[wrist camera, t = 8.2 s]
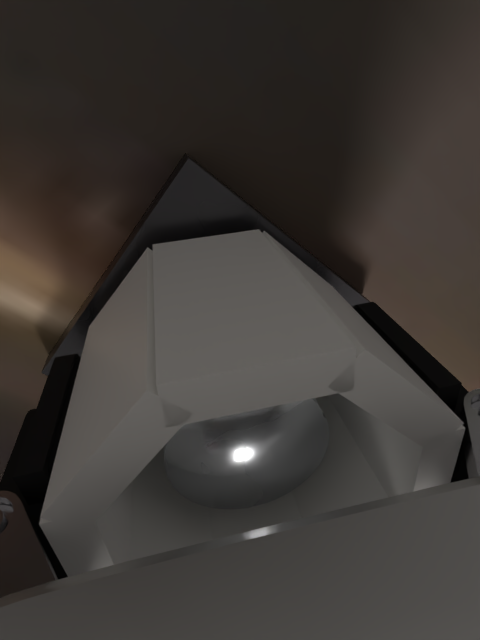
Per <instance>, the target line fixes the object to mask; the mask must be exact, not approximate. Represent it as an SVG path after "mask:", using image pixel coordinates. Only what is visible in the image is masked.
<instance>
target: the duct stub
mask: <svg viewBox="0 0 480 640" xmlns="http://www.w3.org/2000/svg"><path fill="white" fill-rule="evenodd" d="M257 229H259V230H260V231H261V232H262V233H263V231H265V232H266V233H268V234H269V235H270V236H271V237H273V238H274V239H275V240H276V241H277V242H279V243H280V244H281V245H282V246H284V247H285V248H286V249H287V250H289V251H290V252H291V253H292V254H293V255H295V256H296V257H297V258H298V259H300V260H301V261H302V262H303V263H304V264H306V265H307V266H308V267H309V268H311V269H312V270H313V271H314V272H315V273H317V274H318V275H319V276H320V277H322V278H323V279H324V280H325V281H326V282H328V283H329V284H330V285H331V286H333V288H334V289H335V290H336V291H337V292H338V293H339V294H340V295H341V296H342V297H343V298H344V299H345V300H346V301H347V302H348V303H349V304H350V305H351V306H352V307H353V306H354V305H357V304H363V303H369V302H370V301H369V300H368V299H367V298H365V297H364V296H363V295H362V294H361V293H360V292H358V291H357V290H356V289H355V288H353V287H352V286H351V285H350V284H348V283H347V282H346V281H345V280H343V279H342V278H341V277H340V276H338V275H337V274H336V273H335V272H333V271H332V270H331V269H330V268H328V267H327V266H326V265H325V264H323V263H322V262H321V261H320V260H318V259H317V258H316V257H315V256H313V255H312V254H311V253H310V252H308V251H307V250H306V249H305V248H303V247H302V246H301V245H300V244H298V243H297V242H296V241H295V240H293V239H292V238H291V237H290V236H288V235H287V234H286V233H285V232H283V231H282V230H281V229H280V228H278V227H277V226H276V225H275V224H273V223H272V222H271V221H270V220H268V219H267V218H266V217H265V216H263V215H262V214H261V213H260V212H258V211H257V210H256V209H255V208H253V207H252V206H251V205H250V204H248V203H247V202H246V201H245V200H243V199H242V198H241V197H240V196H238V195H237V194H236V193H234V192H233V191H232V190H231V189H229V188H228V187H227V186H226V185H224V184H223V183H222V182H221V181H219V180H218V179H217V178H216V177H214V176H213V175H212V174H211V173H209V172H208V171H207V170H206V169H204V168H203V167H202V166H201V165H199V164H198V163H197V162H196V161H194V160H193V159H192V158H191V157H189V156H188V155H187V154H186V153H185V155H184V156H183V158H182V159H181V161H180V162H179V164H178V165H177V167H176V168H175V170H174V171H173V172H172V174H171V175H170V177H169V178H168V180H167V181H166V183H165V184H164V186H163V187H162V189H161V190H160V192H159V193H158V195H157V196H156V197H155V199H154V200H153V202H152V203H151V205H150V206H149V208H148V209H147V211H146V212H145V214H144V215H143V217H142V218H141V220H140V221H139V222H138V224H137V225H136V227H135V228H134V230H133V231H132V233H131V234H130V236H129V237H128V239H127V240H126V242H125V243H124V245H123V246H122V247H121V249H120V250H119V252H118V253H117V255H116V256H115V258H114V259H113V261H112V262H111V264H110V265H109V267H108V268H107V270H106V271H105V272H104V274H103V275H102V277H101V278H100V280H99V281H98V283H97V284H96V286H95V287H94V289H93V290H92V292H91V293H90V295H89V296H88V297H87V299H86V300H85V302H84V303H83V305H82V306H81V308H80V309H79V311H78V312H77V314H76V315H75V317H74V318H73V320H72V321H71V322H70V324H69V325H68V327H67V328H66V330H65V331H64V333H63V334H62V336H61V337H60V339H59V340H58V342H57V343H56V345H55V346H54V347H53V349H52V350H51V352H50V353H49V355H48V357H47V360H46V362H45V365H44V368H43V370H42V373H43V374H45V375H47V376H48V375H49V372H50V370H51V367H52V364H53V361H54V359H55V357H59V356H65V355H71V354H76V353H77V354H78V355H79V356H80V358H81V356H82V352H83V348H84V344H85V340H86V336H87V333H88V329H89V326H90V325H91V323H92V322H93V321H94V319H95V318H96V316H97V315H98V314H99V312H100V311H101V310H102V308H103V307H104V306H105V304H106V303H107V302H108V300H109V299H110V298H111V296H112V295H113V293H114V292H115V291H116V289H117V288H118V287H119V285H120V284H121V283H122V281H123V280H124V279H125V277H126V276H127V274H128V273H129V272H130V270H131V269H132V268H133V266H134V265H135V264H136V262H137V261H138V260H139V258H140V257H141V256H142V254H143V253H144V251H145V250H146V249H147V247H148V248H149V249H151V250H152V251H153V246H152V244H159V243H166V242H173V241H180V240H187V239H194V238H201V237H208V236H215V235H222V234H229V233H236V232H243V231H250V230H257ZM328 444H329V426H328V422H327V419H326V417H325V415H324V413H323V411H322V409H321V408H320V406H319V404H318V402H317V400H316V399H315V398H312V399H307V400H302V401H297V402H292V403H287V404H282V405H277V406H273V407H268V408H263V409H258V410H253V411H248V412H243V413H238V414H233V415H228V416H223V417H218V418H213V419H208V420H203V421H199V422H194V423H189V424H184V425H183V426H182V427H181V428H180V429H179V430H178V431H177V432H176V433H175V434H174V436H173V437H172V438H171V439H170V440H169V441H168V442H167V443H166V444H165V446H164V464H165V470H166V474H167V477H168V479H169V481H170V483H171V484H172V486H173V487H174V488H175V489H176V491H177V492H178V493H180V494H181V495H182V496H183V497H185V498H186V499H188V500H190V501H192V502H194V503H196V504H199V505H202V506H206V507H210V508H216V509H241V508H249V507H253V506H258V505H261V504H265V503H268V502H270V501H273V500H275V499H277V498H280V497H282V496H284V495H286V494H287V493H289V492H291V491H292V490H294V489H295V488H297V487H298V486H299V485H301V484H302V483H303V482H304V481H305V480H307V479H308V478H309V477H310V476H311V475H312V473H313V472H314V471H315V470H316V469H317V467H318V466H319V465H320V463H321V461H322V459H323V458H324V455H325V453H326V451H327V447H328Z"/></svg>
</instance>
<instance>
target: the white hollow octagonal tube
mask: <svg viewBox="0 0 480 640" xmlns="http://www.w3.org/2000/svg"><path fill="white" fill-rule="evenodd" d="M152 246H153V251H152V250H151V249H149V248H148V247H147V249H146V250H145V251H144V253H143V254H142V256H141V257H140V258H139V260H138V261H137V262H136V264H135V265H134V266H133V268H132V269H131V270H130V272H129V273H128V274H127V276H126V277H125V279H124V280H123V281H122V283H121V284H120V285H119V287H118V288H117V289H116V291H115V292H114V293H113V295H112V296H111V298H110V299H109V300H108V302H107V303H106V304H105V306H104V307H103V308H102V310H101V311H100V312H99V314H98V315H97V316H96V318H95V319H94V321H93V322H92V323H91V325H90V326H89V329H88V333H87V336H86V340H85V344H84V348H83V352H82V356H81V360H80V364H79V368H78V371H77V375H76V379H75V383H74V387H73V391H72V395H71V399H70V403H69V406H68V410H67V414H66V418H65V422H64V426H63V430H62V434H61V438H60V441H59V445H58V449H57V453H56V457H55V461H54V465H53V469H52V473H51V477H50V480H49V484H48V488H47V492H46V496H45V500H44V504H43V508H42V512H41V515H40V522H39V525H40V527H41V529H42V530H43V532H44V534H45V536H46V538H47V539H48V541H49V543H50V545H51V547H52V549H53V550H54V552H55V554H56V556H57V558H58V559H59V561H60V563H61V565H62V567H63V568H64V570H65V572H66V574H67V576H68V577H70V576H74V575H77V574H81V573H85V572H89V571H92V570H96V569H100V568H104V567H108V566H111V565H115V564H119V563H123V562H126V561H131V560H135V559H139V558H143V557H147V556H151V555H155V554H159V553H163V552H167V551H171V550H175V549H179V548H183V547H187V546H191V545H195V544H199V543H203V542H207V541H211V540H215V539H219V538H223V537H227V536H231V535H235V534H239V533H243V532H247V531H251V530H256V529H260V528H264V527H268V526H272V525H276V524H280V523H284V522H288V521H292V520H296V519H301V518H305V517H309V516H313V515H317V514H321V513H325V512H330V511H334V510H338V509H342V508H346V507H350V506H354V505H359V504H363V503H367V502H371V501H375V500H380V499H384V498H388V497H392V496H396V495H401V494H405V493H409V492H413V491H418V490H422V489H426V488H430V487H434V486H439V485H443V484H447V483H450V482H451V479H452V475H453V471H454V468H455V464H456V461H457V457H458V453H459V450H460V446H461V443H462V439H463V436H464V432H465V427H464V426H463V424H464V423H463V422H462V421H461V420H460V419H459V417H458V416H457V415H456V414H455V413H454V412H453V411H452V410H451V409H450V408H449V407H448V406H447V405H446V404H445V403H444V402H443V401H442V400H441V399H440V398H439V397H438V396H437V395H436V394H435V393H434V391H433V390H432V389H431V388H430V387H429V386H428V385H427V384H426V383H425V382H424V381H423V380H422V379H421V378H420V377H419V376H418V375H417V374H416V373H415V372H414V371H413V370H412V369H411V368H410V367H409V365H408V364H407V363H406V362H405V361H404V360H403V359H402V358H401V357H400V356H399V355H398V354H397V353H396V352H395V351H394V350H393V349H392V348H391V347H390V346H389V345H388V344H387V343H386V342H385V341H384V340H383V338H382V337H381V336H380V335H379V334H378V333H377V332H376V331H375V330H374V329H373V328H372V327H371V326H370V325H369V324H368V323H367V322H366V321H365V320H364V319H363V318H362V317H361V316H360V315H359V314H358V312H357V311H356V310H355V309H354V308H353V307H352V306H351V305H350V304H349V303H348V302H347V301H346V300H345V299H344V298H343V297H342V296H341V295H340V294H339V293H338V292H337V291H336V290H335V289H334V288H333V286H331V285H330V284H329V283H328V282H326V281H325V280H324V279H323V278H322V277H320V276H319V275H318V274H317V273H315V272H314V271H313V270H312V269H311V268H309V267H308V266H307V265H306V264H304V263H303V262H302V261H301V260H300V259H298V258H297V257H296V256H295V255H293V254H292V253H291V252H290V251H289V250H287V249H286V248H285V247H284V246H282V245H281V244H280V243H279V242H277V241H276V240H275V239H274V238H273V237H271V236H270V235H269V234H268V233H266V232H265V231H263V233H262V232H261V231H260V230H259V229H257V230H250V231H243V232H236V233H229V234H222V235H215V236H208V237H201V238H194V239H187V240H180V241H173V242H166V243H159V244H152ZM312 398H315V399H316V400H317V402H318V404H319V406H320V408H321V409H322V411H323V413H324V415H325V417H326V419H327V422H328V426H329V444H328V447H327V451H326V453H325V455H324V458H323V459H322V461H321V463H320V465H319V466H318V467H317V469H316V470H315V471H314V472H313V473H312V475H311V476H310V477H309V478H308V479H307V480H305V481H304V482H303V483H302V484H301V485H299V486H298V487H297V488H295V489H294V490H292V491H291V492H289V493H287V494H286V495H284V496H282V497H280V498H277V499H275V500H273V501H270V502H268V503H265V504H261V505H258V506H253V507H249V508H241V509H216V508H210V507H206V506H202V505H199V504H196V503H194V502H192V501H190V500H188V499H186V498H185V497H183V496H182V495H181V494H180V493H178V492H177V491H176V489H175V488H174V487H173V486H172V484H171V483H170V481H169V479H168V477H167V474H166V470H165V464H164V446H165V444H166V443H167V442H168V441H169V440H170V439H171V438H172V437H173V436H174V434H175V433H176V432H177V431H178V430H179V429H180V428H181V427H182V426H183V425H184V424H189V423H194V422H199V421H203V420H208V419H213V418H218V417H223V416H228V415H233V414H238V413H243V412H248V411H253V410H258V409H263V408H268V407H273V406H277V405H282V404H287V403H292V402H297V401H302V400H307V399H312Z"/></svg>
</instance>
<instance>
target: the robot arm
mask: <svg viewBox="0 0 480 640" xmlns="http://www.w3.org/2000/svg"><path fill="white" fill-rule="evenodd" d="M353 308H354V309H355V310H356V311H357V312H358V314H359V315H360V316H361V317H362V318H363V319H364V320H365V321H366V322H367V323H368V324H369V325H370V326H371V327H372V328H373V329H374V330H375V331H376V332H377V333H378V334H379V335H380V336H381V337H382V338H383V340H384V341H385V342H386V343H387V344H388V345H389V346H390V347H391V348H392V349H393V350H394V351H395V352H396V353H397V354H398V355H399V356H400V357H401V358H402V359H403V360H404V361H405V362H406V363H407V364H408V365H409V367H410V368H411V369H412V370H413V371H414V372H415V373H416V374H417V375H418V376H419V377H420V378H421V379H422V380H423V381H424V382H425V383H426V384H427V385H428V386H429V387H430V388H431V389H432V390H433V391H434V393H435V394H436V395H437V396H438V397H439V398H440V399H441V400H442V401H443V402H444V403H445V404H446V405H447V406H448V407H449V408H450V409H451V410H452V411H453V412H454V413H455V414H456V415H457V416H458V417H459V419H460V420H461V421H462V422H463V423H464V424H463V426H464V427H465V432H464V436H463V439H462V443H461V446H460V450H459V453H458V457H457V461H456V464H455V468H454V471H453V475H452V479H451V482H450V483H447V484H443V485H439V486H434V487H430V488H426V489H422V490H418V491H413V492H409V493H405V494H401V495H396V496H392V497H388V498H384V499H380V500H375V501H371V502H367V503H363V504H359V505H354V506H350V507H346V508H342V509H338V510H334V511H330V512H325V513H321V514H317V515H313V516H309V517H305V518H301V519H296V520H292V521H288V522H284V523H280V524H276V525H272V526H268V527H264V528H260V529H256V530H251V531H247V532H243V533H239V534H235V535H231V536H227V537H223V538H219V539H215V540H211V541H207V542H203V543H199V544H195V545H191V546H187V547H183V548H179V549H175V550H171V551H167V552H163V553H159V554H155V555H151V556H147V557H143V558H139V559H135V560H131V561H126V562H123V563H119V564H115V565H111V566H108V567H104V568H100V569H96V570H92V571H89V572H85V573H81V574H77V575H74V576H70V577H68V576H67V574H66V572H65V570H64V568H63V567H62V565H61V563H60V561H59V559H58V558H57V556H56V554H55V552H54V550H53V549H52V547H51V545H50V543H49V541H48V539H47V538H46V536H45V534H44V532H43V530H42V529H41V527H40V525H39V522H40V515H41V512H42V508H43V504H44V500H45V496H46V492H47V488H48V484H49V480H50V477H51V473H52V469H53V465H54V461H55V457H56V453H57V449H58V445H59V441H60V438H61V434H62V430H63V426H64V422H65V418H66V414H67V410H68V406H69V403H70V399H71V395H72V391H73V387H74V383H75V379H76V375H77V371H78V368H79V364H80V360H81V358H80V356H79V355H78V354H77V353H76V354H71V355H65V356H59V357H55V359H54V361H53V364H52V367H51V370H50V372H49V375H48V378H47V381H46V384H45V387H44V389H43V392H42V395H41V398H40V401H39V404H38V406H37V409H32V410H30V411H29V412H28V413H27V415H26V417H25V419H24V422H23V425H22V427H21V430H20V432H19V435H18V438H17V440H16V443H15V446H14V448H13V451H12V454H11V456H10V459H9V462H8V464H7V467H6V469H5V472H4V475H3V477H2V480H1V483H0V640H480V389H475V390H472V391H470V392H468V391H467V390H466V389H465V388H464V387H463V386H462V385H461V384H462V383H461V382H460V381H459V380H458V379H457V378H455V377H454V376H453V375H452V374H451V373H450V372H449V371H448V370H447V369H446V368H445V367H444V366H442V365H441V364H440V363H439V362H438V361H437V360H436V359H435V358H434V357H433V356H432V355H431V354H430V353H428V352H427V351H426V350H425V349H424V348H423V347H422V346H421V345H420V344H419V343H418V342H417V341H416V340H414V339H413V338H412V337H411V336H410V335H409V334H408V333H407V332H406V331H405V330H404V329H403V328H402V327H400V326H399V325H398V324H397V323H396V322H395V321H394V320H393V319H392V318H391V317H390V316H389V315H387V314H386V313H385V312H384V311H383V310H382V309H381V308H380V307H379V306H378V305H377V304H376V303H374V302H369V303H363V304H357V305H354V306H353Z"/></svg>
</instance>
